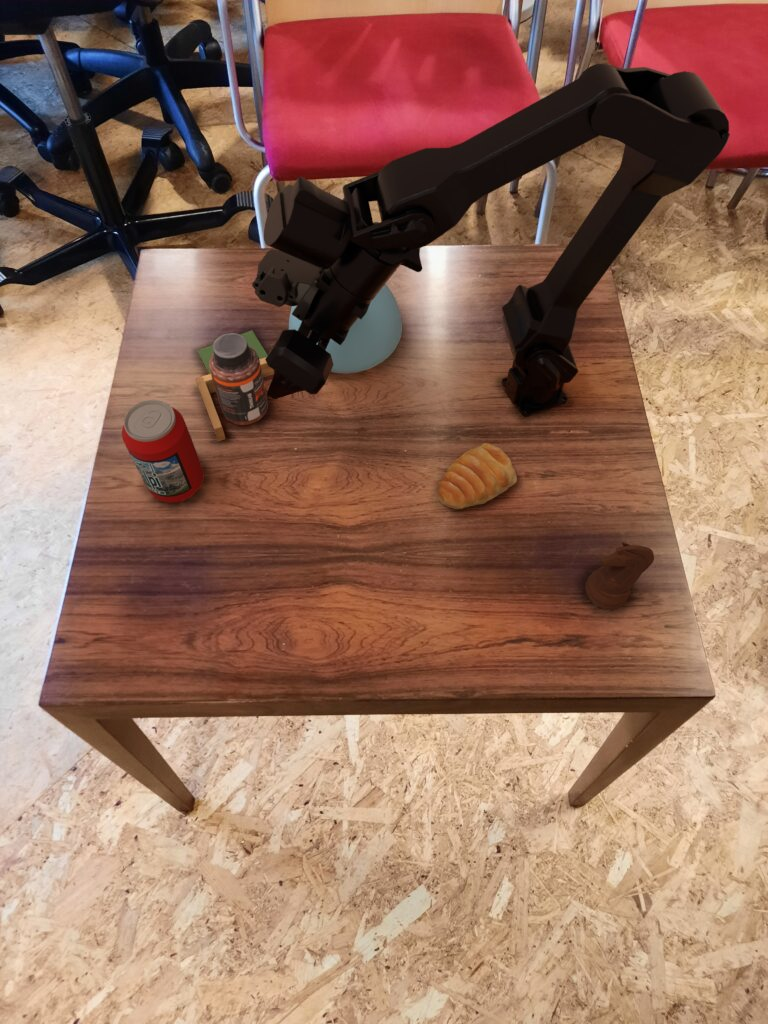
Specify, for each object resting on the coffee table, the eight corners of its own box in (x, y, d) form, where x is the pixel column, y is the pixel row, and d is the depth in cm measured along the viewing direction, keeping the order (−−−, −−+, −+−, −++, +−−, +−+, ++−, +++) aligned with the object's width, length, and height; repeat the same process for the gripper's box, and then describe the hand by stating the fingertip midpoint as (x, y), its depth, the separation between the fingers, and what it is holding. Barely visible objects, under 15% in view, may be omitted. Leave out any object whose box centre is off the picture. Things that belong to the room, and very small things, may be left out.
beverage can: (137, 495, 87) (103, 433, 76) (167, 452, 90) (138, 387, 80) (187, 513, 85) (160, 452, 75) (215, 469, 89) (193, 405, 78)
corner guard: (271, 369, 97) (269, 356, 95) (293, 417, 93) (291, 404, 91) (199, 391, 95) (195, 378, 93) (218, 441, 91) (214, 429, 89)
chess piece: (582, 571, 81) (605, 526, 73) (628, 572, 81) (657, 527, 73) (587, 609, 79) (612, 567, 70) (635, 610, 79) (665, 568, 70)
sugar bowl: (311, 292, 104) (303, 222, 95) (413, 312, 102) (416, 243, 92) (275, 368, 97) (262, 301, 87) (384, 391, 95) (384, 325, 85)
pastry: (461, 526, 84) (464, 508, 81) (423, 488, 87) (424, 470, 84) (520, 483, 87) (525, 465, 84) (481, 448, 90) (485, 429, 87)
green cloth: (252, 331, 100) (252, 329, 100) (270, 360, 98) (269, 358, 97) (197, 352, 99) (196, 350, 98) (213, 382, 96) (213, 380, 96)
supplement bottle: (270, 425, 92) (256, 362, 82) (222, 429, 92) (203, 367, 82) (268, 388, 95) (254, 324, 85) (221, 393, 95) (203, 329, 85)
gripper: (312, 190, 79) (249, 291, 89) (257, 273, 66) (191, 379, 76) (395, 254, 82) (325, 344, 92) (358, 344, 69) (281, 438, 80)
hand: (282, 373), depth 85 cm, fingers open, 9 cm apart
